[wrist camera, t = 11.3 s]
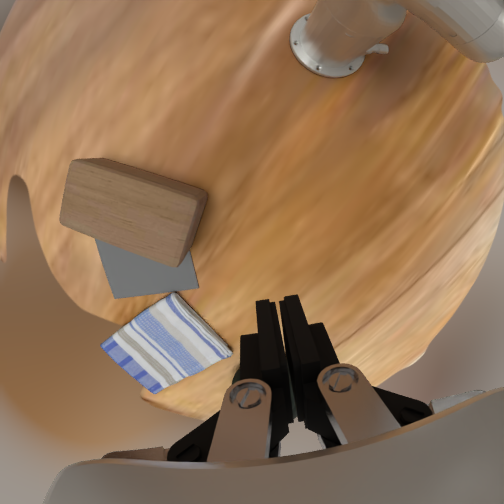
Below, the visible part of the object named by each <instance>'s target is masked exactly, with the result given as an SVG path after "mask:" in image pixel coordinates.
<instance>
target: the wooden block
mask: <svg viewBox="0 0 504 504" xmlns="http://www.w3.org/2000/svg"><path fill="white" fill-rule="evenodd" d="M207 198H208V197H207V193H206V192H205V191H204V190H202V189H199V188H196V187H193V186H190V185H187V184H184V183H181V182H178V181H175V180H172V179H169V178H166V177H163V176H160V175H157V174H153V173H150V172H147V171H144V170H141V169H137V168H134V167H131V166H128V165H124V164H121V163H118V162H114V161H111V160H108V159H104V158H90V159H76V160H73V161H72V162H71V164H70V166H69V170H68V175H67V179H66V184H65V189H64V194H63V200H62V206H61V212H60V218H59V220H60V223H61V224H62V225H63V226H66V227H68V228H71V229H73V230H75V231H78V232H80V233H83V234H85V235H88V236H90V237H93V238H95V239H98V240H101V241H103V242H106V243H108V244H111V245H113V246H116V247H119V248H121V249H124V250H126V251H129V252H132V253H134V254H137V255H140V256H142V257H145V258H148V259H151V260H153V261H156V262H159V263H162V264H164V265H167V266H170V267H179V265H180V264H181V263H182V261H183V260H184V258H185V256H186V255H187V253H188V251H189V250H190V248H191V246H192V244H193V241H194V237H195V234H196V231H197V228H198V225H199V222H200V219H201V216H202V213H203V210H204V207H205V204H206V201H207Z"/></svg>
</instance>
